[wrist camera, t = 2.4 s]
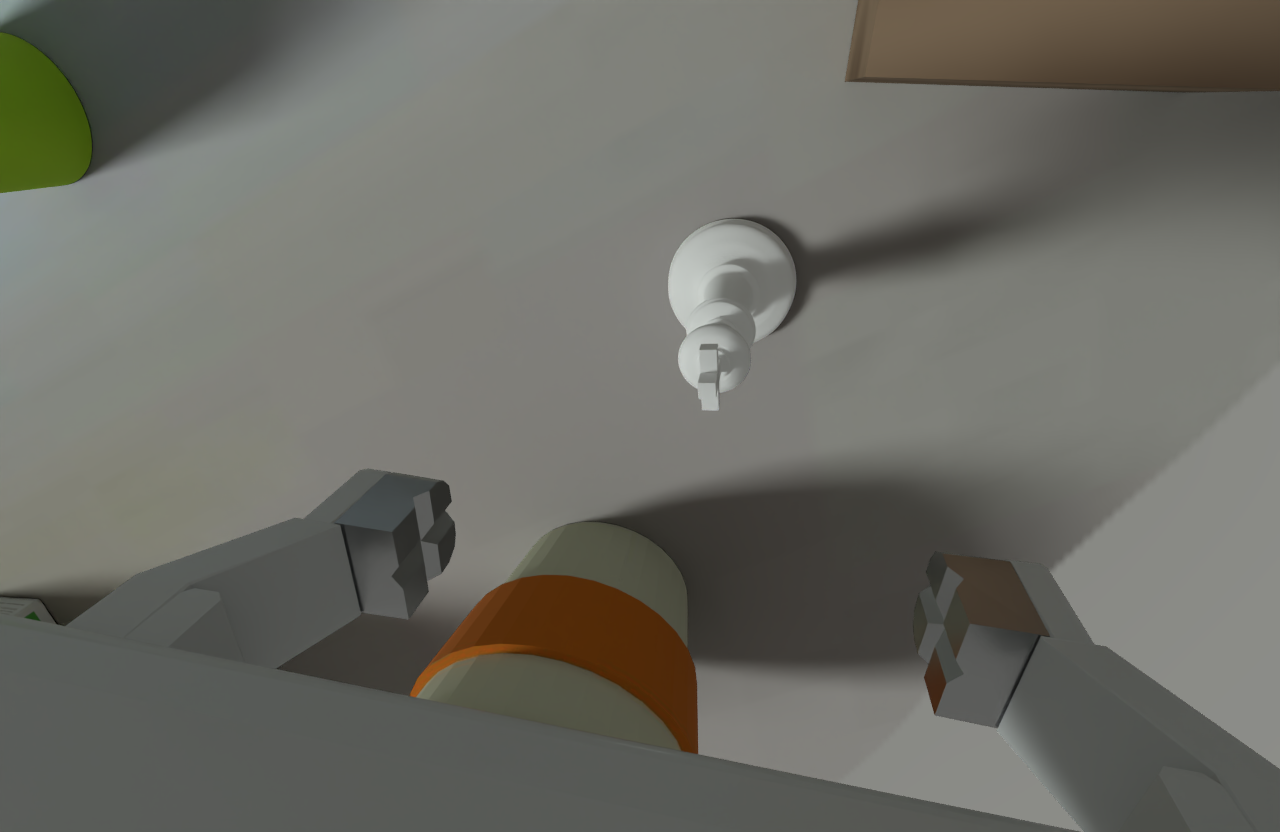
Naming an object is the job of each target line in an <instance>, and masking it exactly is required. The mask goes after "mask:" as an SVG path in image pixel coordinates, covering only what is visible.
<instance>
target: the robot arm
mask: <svg viewBox="0 0 1280 832" xmlns="http://www.w3.org/2000/svg"><path fill="white" fill-rule="evenodd" d="M451 502H452V500H451V494H450V488H449V485H448V484H447V483H446V482H444V481H443V480H437V479H431V478H425V477H419V476H413V475H407V474H401V473H394V472H393V473H391V472H388V471H381V470H374V469H364V470H360V471H358V472H357V473H356V474H355V475H354V476H353V477H351V478H350V479H349V480H348V481H347V482H346V483H345V484H343V485H342V486H341V487H340V488H339V489H338V490H336V491H335V492H334V493H333V494H332V495H331V496H329V497H328V498H327V499H326V500H325V501H324V502H323V503H321V504H320V505H319V506H318V507H317V508H316V509H314V510H313V511H312V512H311V513H310V514H309V515H307V516H306V517H305V518H304V519H301V518H293V519H290V520H287V521H285V522H282V523H279V524H276V525H273V526H271V527H268V528H265V529H262V530H259V531H257V532H254V533H251V534H248V535H245V536H243V537H240V538H237V539H234V540H231V541H229V542H226V543H223V544H220V545H217V546H214V547H212V548H209V549H206V550H203V551H200V552H198V553H195V554H192V555H189V556H186V557H184V558H181V559H178V560H175V561H172V562H170V563H167V564H164V565H161V566H158V567H156V568H153V569H150V570H147V571H144V572H142V573H139V574H136V575H135V576H133V577H132V578H130V579H129V580H128V581H126V582H125V583H124V584H122V585H121V586H119V587H118V588H117V589H115V590H114V591H113V592H111V593H110V594H108V595H107V596H106V597H104V598H103V599H102V600H100V601H99V602H97V603H96V604H95V605H93V606H92V607H91V608H89V609H88V610H86V611H85V612H84V613H82V614H81V615H80V616H78V617H77V618H75V619H74V620H73V621H71V622H70V623H69V624H67V625H66V626H61V625H57V624H52V623H47V622H42V621H37V620H32V619H27V618H22V617H17V616H12V615H7V614H2V613H0V832H1079V831H1074V830H1069V829H1064V828H1059V827H1054V826H1049V825H1045V824H1039V823H1035V822H1029V821H1025V820H1020V819H1015V818H1010V817H1005V816H1000V815H994V814H990V813H985V812H980V811H975V810H970V809H965V808H960V807H955V806H950V805H945V804H940V803H935V802H930V801H924V800H920V799H915V798H910V797H905V796H900V795H895V794H890V793H885V792H880V791H876V790H871V789H866V788H861V787H856V786H851V785H846V784H841V783H836V782H831V781H827V780H822V779H817V778H812V777H807V776H802V775H797V774H792V773H787V772H782V771H778V770H773V769H768V768H763V767H758V766H753V765H748V764H743V763H738V762H733V761H729V760H724V759H719V758H714V757H709V756H704V755H699V754H694V753H689V752H684V751H679V750H674V749H669V748H664V747H660V746H655V745H650V744H645V743H640V742H635V741H630V740H625V739H620V738H615V737H610V736H605V735H600V734H595V733H590V732H585V731H580V730H575V729H570V728H565V727H560V726H555V725H551V724H546V723H541V722H536V721H531V720H526V719H521V718H516V717H511V716H506V715H501V714H496V713H491V712H486V711H481V710H476V709H471V708H466V707H461V706H456V705H452V704H447V703H442V702H437V701H432V700H427V699H422V698H417V697H412V696H407V695H402V694H397V693H392V692H387V691H382V690H377V689H372V688H368V687H363V686H358V685H353V684H348V683H343V682H338V681H333V680H328V679H323V678H318V677H313V676H308V675H303V674H298V673H293V672H288V671H284V670H279V669H276V668H278V667H279V666H281V665H282V664H284V663H286V662H287V661H289V660H290V659H292V658H294V657H295V656H297V655H298V654H300V653H302V652H303V651H305V650H306V649H308V648H310V647H311V646H313V645H314V644H316V643H317V642H319V641H321V640H322V639H324V638H325V637H327V636H329V635H330V634H332V633H333V632H335V631H337V630H338V629H340V628H341V627H343V626H345V625H346V624H348V623H349V622H351V621H353V620H354V619H356V618H357V617H359V616H361V612H362V613H368V614H375V615H382V616H388V617H395V618H401V619H408V620H409V618H410V617H411V616H412V614H413V613H414V611H415V610H416V609H417V607H418V606H419V604H420V603H421V602H422V600H423V599H424V598H425V596H426V595H427V593H428V592H429V590H428V583H427V581H428V580H430V579H432V578H434V577H436V576H438V575H440V574H442V572H443V571H444V569H445V568H446V566H447V565H448V563H449V562H450V559H451V556H452V553H453V550H454V547H455V537H456V531H455V522H454V521H453V520H452V518H451V517H450V516H449V515H448V513H447V512H446V511H445V510H446V508H447V507H448V506H449V504H450V503H451ZM926 573H927V576H928V579H929V582H930V586H929V587H927V588H926V589H925V590H923V591H922V592H920V593H919V595H918V598H917V602H916V606H915V609H914V620H913V632H914V641H915V645H916V649H917V653H918V654H919V655H920V656H921V657H922V658H923V659H924V660H925V661H926V662H927V663H928V664H929V665H928V668H927V671H926V674H925V676H924V679H925V682H926V686H927V689H928V693H929V696H930V700H931V703H932V707H933V711H934V714H935V715H936V716H941V717H946V718H950V719H955V720H960V721H965V722H970V723H974V724H979V725H984V726H990V727H994V728H998V729H997V732H998V733H999V734H1000V735H1001V737H1002V738H1003V739H1004V740H1005V741H1006V742H1007V743H1008V745H1009V746H1010V747H1011V748H1012V749H1013V750H1014V752H1015V753H1016V754H1017V755H1018V756H1019V757H1020V759H1021V760H1022V761H1023V762H1024V763H1025V764H1026V765H1027V767H1028V768H1029V769H1030V770H1031V771H1032V772H1033V774H1034V775H1035V776H1036V777H1037V778H1038V779H1039V780H1040V782H1041V783H1042V784H1043V785H1044V786H1045V787H1046V789H1047V790H1049V792H1050V793H1051V794H1052V795H1053V797H1054V798H1055V799H1056V800H1057V801H1058V802H1059V804H1060V805H1061V806H1062V807H1063V808H1064V809H1065V811H1066V812H1067V813H1068V814H1069V815H1070V816H1071V817H1072V819H1073V820H1074V821H1075V822H1076V823H1077V824H1078V826H1079V827H1080V828H1081V829H1082V830H1083V831H1084V832H1280V769H1279V768H1277V767H1276V766H1275V765H1273V764H1272V763H1271V762H1269V761H1268V760H1266V759H1265V758H1263V757H1262V756H1261V755H1259V754H1258V753H1256V752H1255V751H1254V750H1252V749H1251V748H1249V747H1248V746H1246V745H1245V744H1244V743H1242V742H1241V741H1239V740H1238V739H1237V738H1235V737H1234V736H1232V735H1231V734H1229V733H1228V732H1227V731H1225V730H1224V729H1222V728H1221V727H1220V726H1218V725H1217V724H1215V723H1214V722H1212V721H1211V720H1210V719H1208V718H1207V717H1205V716H1204V715H1203V714H1201V713H1200V712H1198V711H1197V710H1195V709H1194V708H1193V707H1191V706H1190V705H1188V704H1187V703H1186V702H1184V701H1183V700H1181V699H1180V698H1178V697H1177V696H1176V695H1174V694H1173V693H1171V692H1170V691H1169V690H1167V689H1166V688H1164V687H1163V686H1161V685H1160V684H1158V683H1157V682H1156V681H1154V680H1153V679H1152V678H1150V677H1149V676H1147V675H1146V674H1144V673H1143V672H1142V671H1140V670H1139V669H1137V668H1136V667H1135V666H1133V665H1132V664H1130V663H1129V662H1127V661H1126V660H1125V659H1123V658H1122V657H1120V656H1119V655H1117V654H1116V653H1115V652H1113V651H1112V650H1110V649H1109V648H1108V647H1106V646H1100V645H1095V644H1094V643H1093V642H1092V640H1091V638H1090V637H1089V635H1088V634H1087V631H1086V630H1085V628H1084V627H1083V625H1082V623H1081V622H1080V620H1079V619H1078V617H1077V615H1076V614H1075V612H1074V611H1073V609H1072V607H1071V606H1070V604H1069V602H1068V601H1067V599H1066V597H1065V596H1064V594H1063V593H1062V591H1061V589H1060V588H1059V586H1058V584H1057V583H1056V581H1055V580H1054V578H1053V576H1052V575H1051V573H1050V571H1049V570H1048V569H1047V568H1046V567H1044V566H1043V565H1042V564H1037V563H1029V562H1020V561H1011V560H1004V561H1003V560H996V559H988V558H981V557H973V556H966V555H958V554H951V553H944V552H936V551H935V553H934V554H933V556H932V557H931V559H930V561H929V564H928V567H927V570H926Z"/></svg>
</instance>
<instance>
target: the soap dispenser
mask: <svg viewBox="0 0 1280 832" xmlns="http://www.w3.org/2000/svg"><path fill="white" fill-rule="evenodd" d="M91 155H92V139H91V132H90V127H89V124H88V120H87V117H86V114H85V112H84V109H83V107H82V105H81V102H80V100H79V98H78V97H77V95H76V93H75V91H74V90H73V88H72V86H71V85H70V83H69V82H68V80H67V79H66V78H65V76H64V75H63V74H62V73H61V71H60V70H59V69H58V68H57V67H56V66H55V64H54V63H53V62H52V61H51V60H50V59H49V58H48V57H46V56H45V55H44V54H43V53H42V52H41V51H39V50H38V49H37V48H35V47H34V46H33V45H31V44H29V43H28V42H26V41H24V40H22V39H20V38H18V37H16V36H13V35H10V34H7V33H2V32H0V193H5V192H13V191H22V190H30V189H38V188H46V187H54V186H62V185H68V184H71V183H74V182H76V181H77V180H79V179H80V178H81V177H82V176H83V175H84V174H85V172H86V171H87V169H88V166H89V164H90V160H91Z"/></svg>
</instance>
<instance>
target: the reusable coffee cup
mask: <svg viewBox="0 0 1280 832" xmlns="http://www.w3.org/2000/svg"><path fill="white" fill-rule="evenodd" d="M410 696H412V697H417V698H422V699H427V700H432V701H437V702H442V703H447V704H452V705H456V706H461V707H466V708H471V709H476V710H481V711H486V712H491V713H496V714H501V715H506V716H511V717H516V718H521V719H526V720H531V721H536V722H541V723H546V724H551V725H555V726H560V727H565V728H570V729H575V730H580V731H585V732H590V733H595V734H600V735H605V736H610V737H615V738H620V739H625V740H630V741H635V742H640V743H645V744H650V745H655V746H660V747H664V748H669V749H674V750H679V751H684V752H689V753H694V754H698V717H697V680H696V672H695V666H694V663H693V661H692V658H691V656H690V653H689V650H688V598H687V590H686V585H685V582H684V580H683V577H682V574H681V572H680V571H679V569H678V568H677V566H676V564H675V563H674V561H673V560H672V559H671V558H670V557H669V556H668V555H667V554H666V553H665V552H664V551H663V550H662V549H661V548H660V547H659V546H657V545H656V544H655V543H653V542H652V541H651V540H649V539H648V538H646V537H644V536H642V535H640V534H638V533H636V532H634V531H632V530H629V529H626V528H623V527H620V526H618V525H613V524H607V523H602V522H579V523H573V524H567V525H564V526H562V527H559V528H556V529H554V530H552V531H550V532H549V533H547V534H546V535H544V536H543V537H541V539H540V540H539V541H538V542H537V543H536V544H535V545H534V546H533V547H532V549H531V550H530V551H529V552H528V554H527V555H526V556H525V558H524V559H523V560H522V561H521V563H520V564H519V565H518V567H517V568H516V569H515V570H514V572H513V573H512V574H511V576H510V577H509V578H508V579H507V581H506V582H505V583H504V584H502V585H500V586H499V587H497V588H495V589H494V590H492V591H491V592H489V593H487V594H486V595H485V596H484V597H483V598H482V600H481V601H480V602H479V603H478V604H477V605H476V606H475V607H474V608H473V610H472V611H471V612H470V613H469V615H468V616H467V617H466V618H465V620H464V621H463V622H462V623H461V625H460V626H459V627H458V628H457V630H456V631H455V632H454V633H453V635H452V636H451V637H450V638H449V640H448V641H447V642H446V643H445V645H444V646H443V647H442V648H441V650H440V651H439V652H438V653H437V655H436V656H435V657H434V658H433V660H432V661H431V662H430V663H429V665H428V666H427V667H426V668H425V670H424V671H423V672H422V673H421V675H420V676H419V677H418V678H417V681H416V683H415V685H414V687H413V689H412V691H411V693H410Z"/></svg>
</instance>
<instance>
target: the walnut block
mask: <svg viewBox="0 0 1280 832" xmlns="http://www.w3.org/2000/svg"><path fill="white" fill-rule="evenodd" d="M845 82H874V83H906V84H937V85H969V86H1001V87H1033V88H1065V89H1096V90H1128V91H1160V92H1240V91H1280V0H858V6H857V12H856V18H855V24H854V30H853V36H852V42H851V48H850V54H849V60H848V66H847V72H846V78H845Z"/></svg>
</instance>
